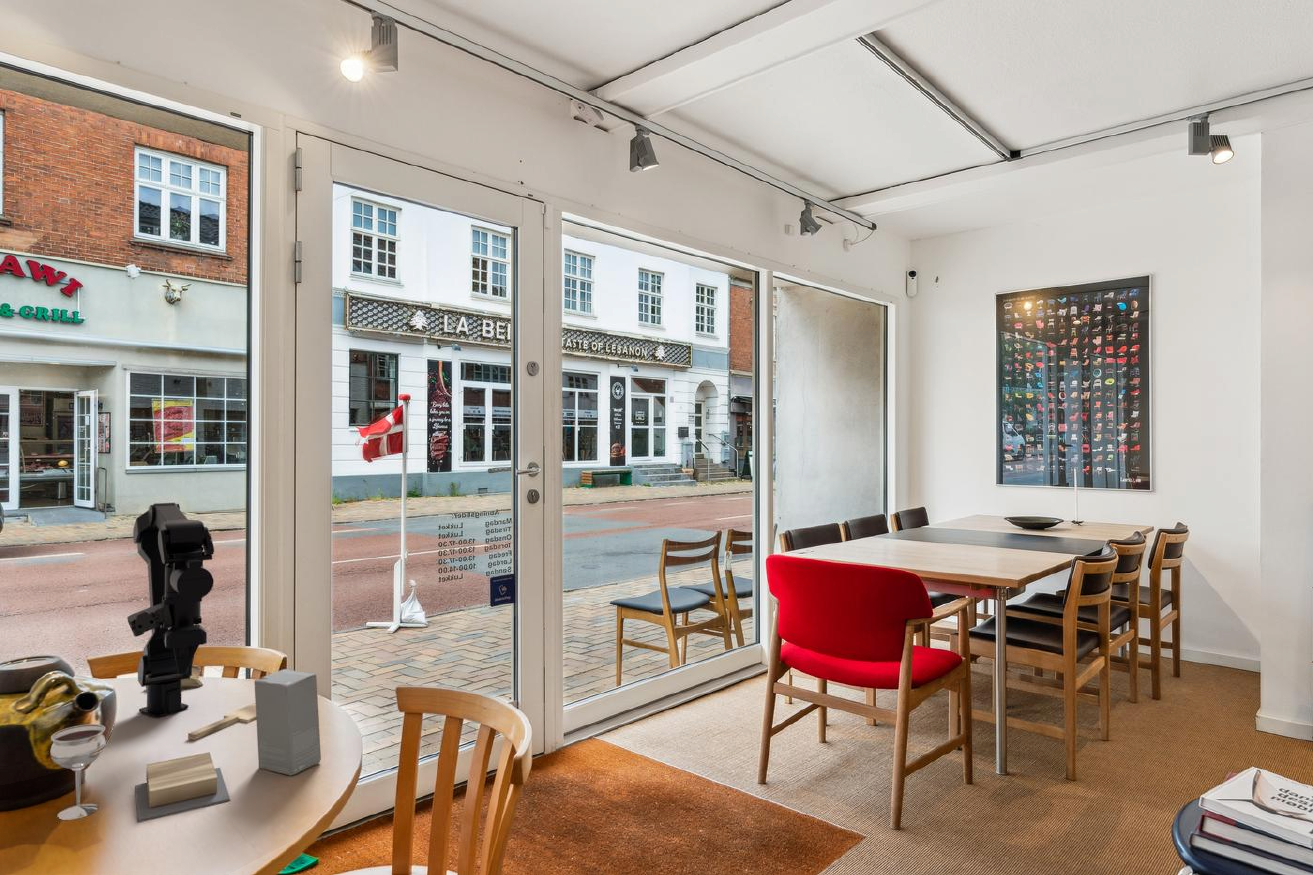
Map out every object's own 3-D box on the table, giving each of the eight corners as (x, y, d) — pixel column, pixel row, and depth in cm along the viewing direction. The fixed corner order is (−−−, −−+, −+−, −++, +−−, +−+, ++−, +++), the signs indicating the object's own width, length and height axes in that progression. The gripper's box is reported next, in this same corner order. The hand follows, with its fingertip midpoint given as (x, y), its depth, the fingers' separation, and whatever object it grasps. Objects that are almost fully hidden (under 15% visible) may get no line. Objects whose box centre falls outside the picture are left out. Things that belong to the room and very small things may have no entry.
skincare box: (321, 763, 137) (323, 673, 137) (287, 779, 131) (288, 685, 130) (287, 753, 141) (288, 665, 140) (251, 769, 134) (253, 677, 134)
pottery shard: (202, 695, 173) (209, 670, 182) (200, 677, 172) (207, 654, 181) (145, 702, 169) (155, 677, 178) (142, 685, 168) (153, 660, 177)
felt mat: (135, 786, 127) (135, 784, 127) (219, 769, 134) (219, 767, 134) (138, 821, 116) (138, 819, 116) (229, 800, 123) (229, 798, 123)
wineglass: (44, 826, 114) (45, 745, 114) (55, 806, 120) (55, 728, 120) (101, 817, 117) (102, 737, 117) (108, 797, 123) (109, 721, 123)
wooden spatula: (203, 741, 144) (204, 736, 144) (178, 737, 146) (179, 731, 146) (278, 709, 162) (278, 704, 162) (255, 705, 163) (255, 700, 163)
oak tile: (146, 764, 128) (149, 791, 119) (209, 752, 133) (217, 777, 125) (146, 780, 128) (149, 808, 119) (209, 767, 134) (217, 793, 125)
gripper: (129, 584, 149) (128, 666, 149) (132, 605, 134) (131, 696, 134) (197, 579, 155) (196, 657, 156) (207, 597, 140) (206, 684, 140)
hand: (182, 673), depth 146 cm, fingers closed
